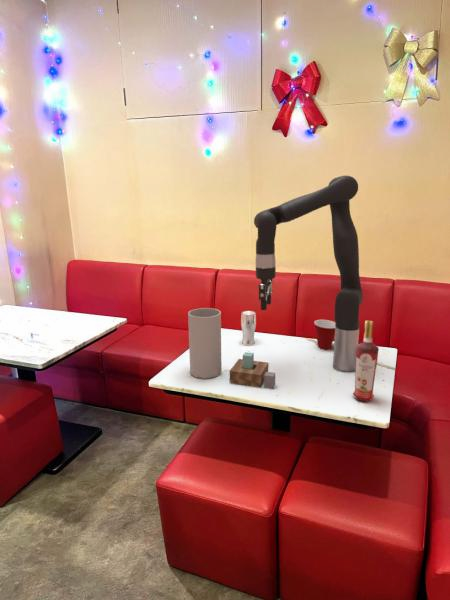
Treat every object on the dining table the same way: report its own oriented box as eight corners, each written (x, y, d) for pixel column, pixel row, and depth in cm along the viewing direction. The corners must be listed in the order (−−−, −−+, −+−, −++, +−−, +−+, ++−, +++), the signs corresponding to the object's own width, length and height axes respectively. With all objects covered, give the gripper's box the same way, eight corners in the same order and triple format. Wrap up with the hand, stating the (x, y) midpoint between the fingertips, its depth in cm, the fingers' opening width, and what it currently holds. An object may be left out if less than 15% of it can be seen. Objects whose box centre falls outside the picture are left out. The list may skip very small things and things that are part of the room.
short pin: (275, 385, 159) (275, 372, 158) (273, 389, 156) (273, 376, 155) (266, 383, 160) (266, 371, 159) (264, 387, 157) (264, 375, 156)
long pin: (245, 376, 167) (245, 352, 165) (253, 377, 166) (253, 353, 163) (242, 379, 164) (242, 355, 161) (251, 380, 163) (251, 356, 160)
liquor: (351, 401, 147) (356, 323, 139) (353, 392, 153) (358, 317, 146) (373, 404, 144) (380, 326, 137) (374, 395, 151) (381, 319, 144)
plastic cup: (336, 353, 189) (337, 327, 186) (311, 350, 192) (312, 325, 189) (338, 344, 199) (339, 320, 196) (314, 342, 202) (315, 318, 199)
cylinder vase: (211, 382, 162) (209, 319, 156) (184, 375, 168) (181, 314, 162) (227, 369, 173) (226, 310, 166) (201, 364, 179) (199, 306, 172)
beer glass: (254, 346, 198) (254, 315, 194) (239, 345, 199) (239, 314, 196) (256, 341, 205) (257, 311, 201) (242, 340, 206) (242, 310, 202)
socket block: (268, 374, 168) (268, 362, 167) (260, 387, 157) (260, 375, 156) (239, 370, 172) (239, 358, 171) (229, 383, 161) (229, 370, 160)
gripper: (259, 262, 169) (260, 302, 173) (251, 268, 156) (252, 311, 160) (278, 262, 167) (278, 302, 171) (271, 269, 154) (272, 312, 158)
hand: (266, 306), depth 165 cm, fingers open, 8 cm apart
